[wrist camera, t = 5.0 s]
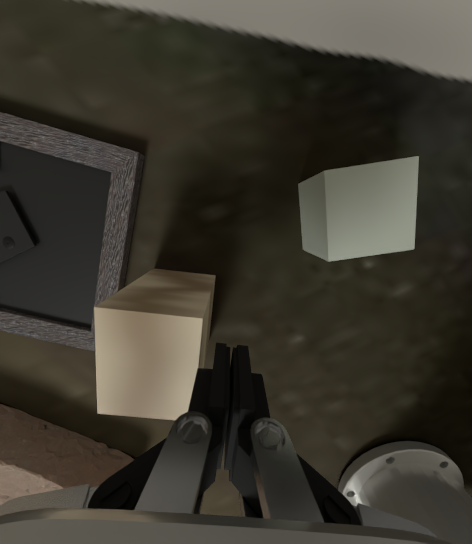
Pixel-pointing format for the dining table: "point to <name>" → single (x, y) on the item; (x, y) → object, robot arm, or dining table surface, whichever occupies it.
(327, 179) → the sage block
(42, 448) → the brick
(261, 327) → the dining table surface
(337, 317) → the dining table surface
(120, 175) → the picture frame
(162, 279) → the maple block
